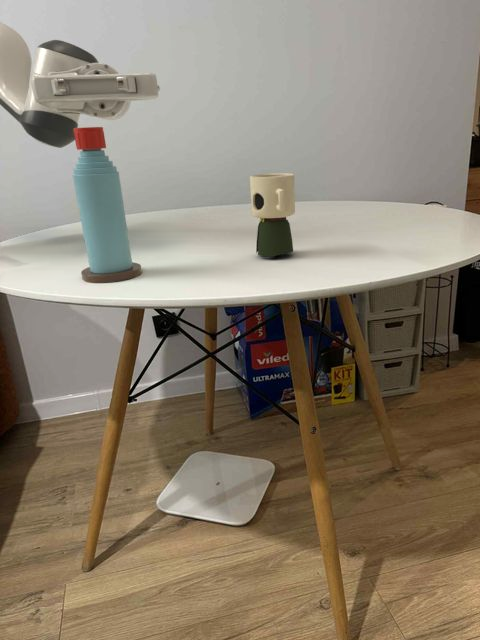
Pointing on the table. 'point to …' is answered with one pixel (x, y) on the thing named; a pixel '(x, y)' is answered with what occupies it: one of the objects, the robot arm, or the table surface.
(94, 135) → the cap
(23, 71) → the robot arm
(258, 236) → the character mug
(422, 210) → the table surface
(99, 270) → the bottle
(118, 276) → the coaster
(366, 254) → the table surface
